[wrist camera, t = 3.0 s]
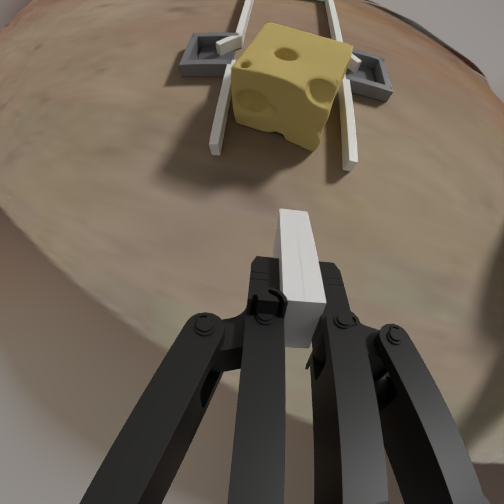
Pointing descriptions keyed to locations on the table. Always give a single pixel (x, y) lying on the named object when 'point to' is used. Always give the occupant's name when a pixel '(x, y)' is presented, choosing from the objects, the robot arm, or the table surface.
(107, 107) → the table surface
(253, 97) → the cheese
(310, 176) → the table surface
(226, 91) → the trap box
